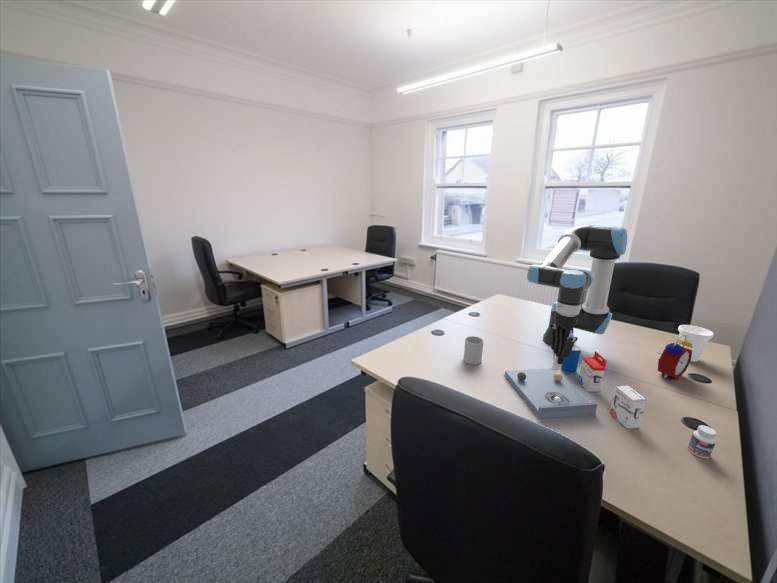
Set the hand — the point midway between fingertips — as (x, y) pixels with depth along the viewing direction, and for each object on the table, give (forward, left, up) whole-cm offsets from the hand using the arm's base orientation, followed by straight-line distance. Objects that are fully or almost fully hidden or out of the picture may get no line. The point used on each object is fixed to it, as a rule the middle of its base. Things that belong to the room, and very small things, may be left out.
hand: (556, 369), depth 124 cm
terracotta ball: (-7, -8, -9) cm, 14 cm away
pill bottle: (-31, +31, -13) cm, 45 cm away
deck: (0, -3, -13) cm, 13 cm away
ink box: (-19, +15, -13) cm, 27 cm away
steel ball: (0, +4, -11) cm, 12 cm away
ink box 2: (-21, -6, -13) cm, 25 cm away
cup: (-86, -23, -13) cm, 90 cm away
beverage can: (-20, -18, -13) cm, 30 cm away
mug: (+20, -33, -13) cm, 41 cm away
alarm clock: (-63, -11, -13) cm, 65 cm away
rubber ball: (+8, -10, -9) cm, 15 cm away
